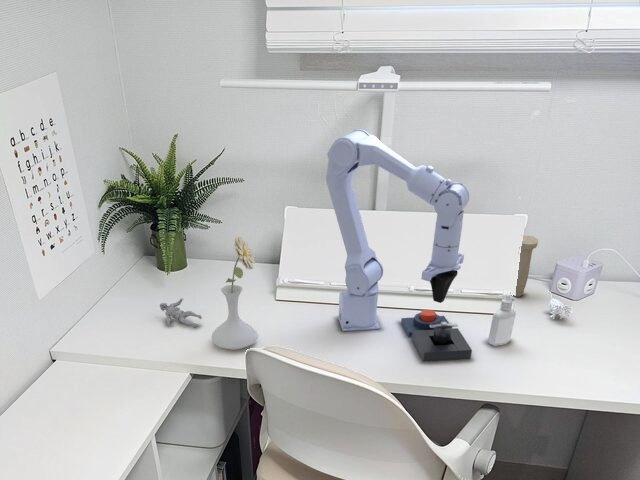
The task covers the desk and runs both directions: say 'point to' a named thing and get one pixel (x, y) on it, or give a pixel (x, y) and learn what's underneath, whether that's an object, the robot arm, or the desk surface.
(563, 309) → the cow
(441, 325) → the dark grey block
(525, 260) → the handle
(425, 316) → the stop button
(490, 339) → the eye dropper bottle
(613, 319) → the desk surface
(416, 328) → the switch box
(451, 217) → the robot arm
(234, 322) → the flower in vase
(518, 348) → the desk surface
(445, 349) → the square hole block
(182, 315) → the soldier figure
